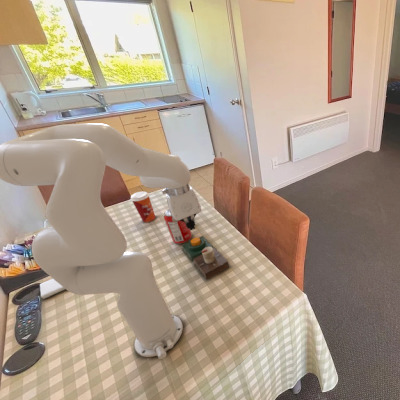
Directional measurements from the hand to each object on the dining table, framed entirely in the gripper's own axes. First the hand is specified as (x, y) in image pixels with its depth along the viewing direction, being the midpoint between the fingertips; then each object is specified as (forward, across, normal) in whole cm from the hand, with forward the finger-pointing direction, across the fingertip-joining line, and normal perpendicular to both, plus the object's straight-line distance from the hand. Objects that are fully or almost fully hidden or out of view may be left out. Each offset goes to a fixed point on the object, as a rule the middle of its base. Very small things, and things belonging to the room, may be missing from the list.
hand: (191, 228), depth 107 cm
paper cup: (+12, -8, +40) cm, 43 cm away
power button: (+8, 0, 0) cm, 8 cm away
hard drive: (+10, -49, +16) cm, 53 cm away
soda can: (+12, -2, +12) cm, 17 cm away
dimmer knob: (+8, 0, -13) cm, 16 cm away
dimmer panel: (+11, 0, -14) cm, 17 cm away
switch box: (+11, 0, 0) cm, 11 cm away
